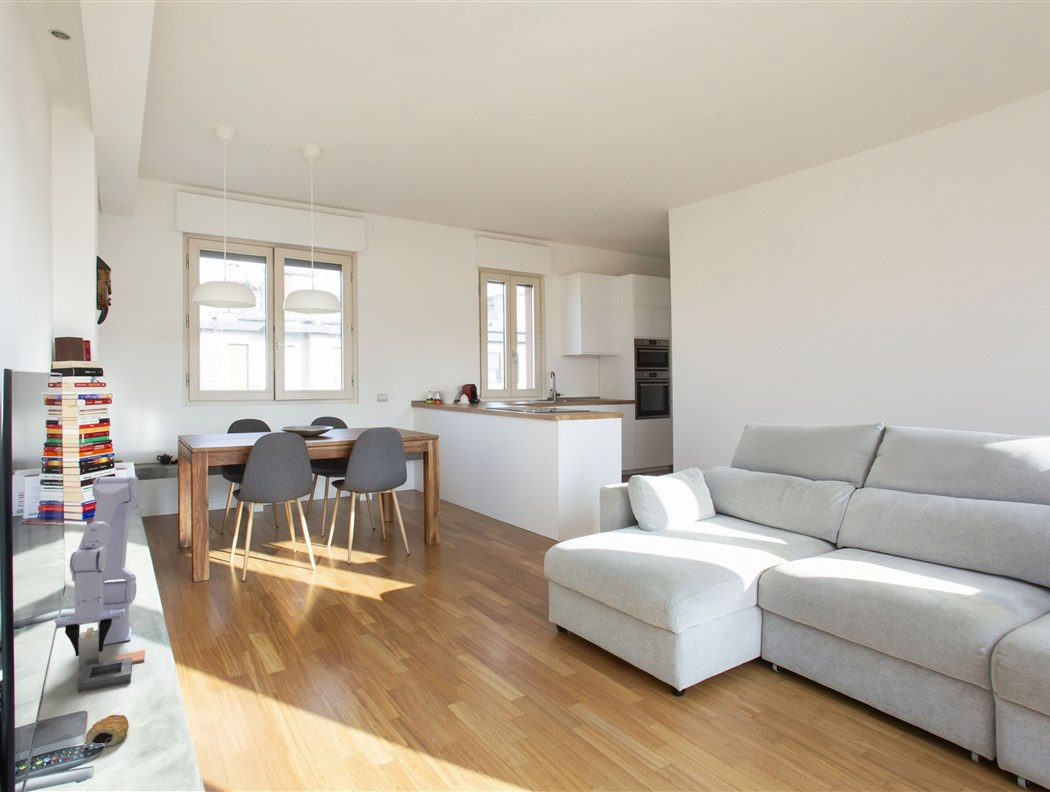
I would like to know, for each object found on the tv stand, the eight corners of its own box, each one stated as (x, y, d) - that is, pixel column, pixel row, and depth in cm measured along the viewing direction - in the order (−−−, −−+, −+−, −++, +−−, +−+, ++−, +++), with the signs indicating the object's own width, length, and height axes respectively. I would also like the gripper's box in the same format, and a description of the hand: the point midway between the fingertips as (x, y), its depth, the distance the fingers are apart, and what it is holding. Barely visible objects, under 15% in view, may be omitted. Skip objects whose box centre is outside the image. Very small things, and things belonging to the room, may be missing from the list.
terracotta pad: (117, 657, 158) (117, 655, 158) (144, 652, 161) (144, 650, 161) (115, 666, 153) (115, 664, 153) (144, 661, 156) (144, 659, 156)
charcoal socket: (82, 674, 149) (82, 666, 149) (132, 665, 154) (132, 657, 154) (78, 692, 140) (77, 684, 140) (130, 682, 145) (130, 673, 145)
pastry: (97, 726, 127) (97, 708, 127) (135, 721, 129) (135, 703, 129) (81, 752, 118) (81, 733, 118) (123, 746, 120) (123, 727, 120)
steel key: (80, 659, 154) (80, 629, 154) (100, 656, 156) (100, 626, 156) (78, 668, 150) (78, 637, 149) (98, 664, 152) (98, 633, 151)
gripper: (49, 608, 145) (50, 665, 146) (123, 597, 153) (123, 652, 153) (53, 598, 151) (54, 653, 152) (124, 589, 159) (125, 641, 159)
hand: (89, 652), depth 153 cm, fingers closed on steel key, 4 cm apart
